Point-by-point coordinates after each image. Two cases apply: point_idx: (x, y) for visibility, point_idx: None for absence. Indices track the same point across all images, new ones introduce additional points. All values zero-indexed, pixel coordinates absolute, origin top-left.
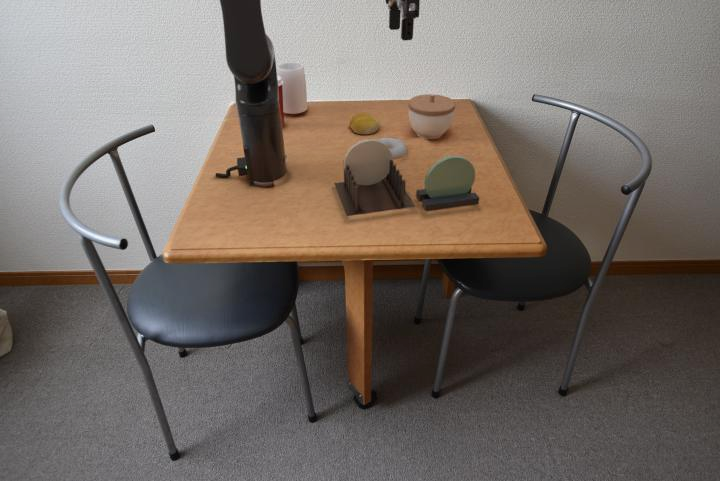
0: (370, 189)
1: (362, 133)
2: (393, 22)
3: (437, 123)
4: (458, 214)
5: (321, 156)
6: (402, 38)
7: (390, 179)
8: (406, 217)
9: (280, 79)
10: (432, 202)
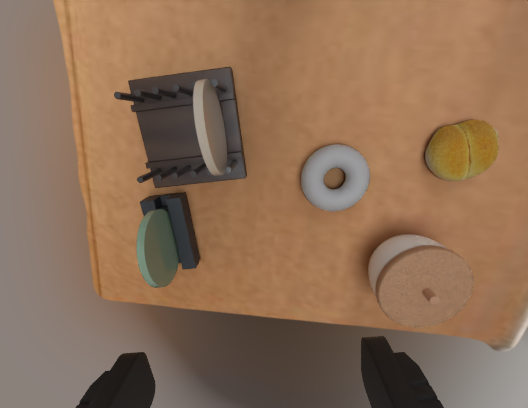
0: None
1: (429, 143)
2: (376, 386)
3: (370, 277)
4: None
5: (357, 49)
6: (120, 358)
7: None
8: (147, 171)
9: None
10: (145, 211)
